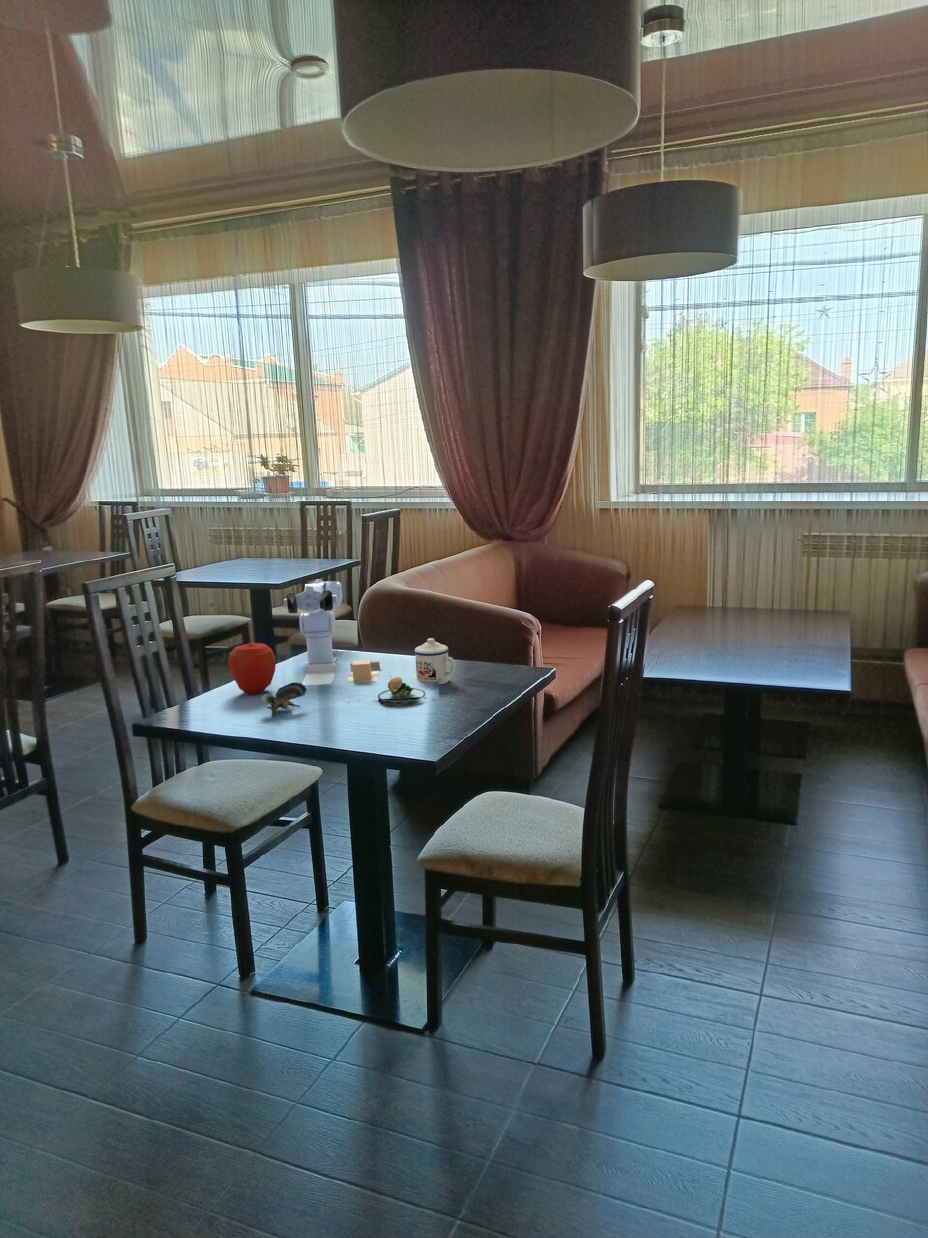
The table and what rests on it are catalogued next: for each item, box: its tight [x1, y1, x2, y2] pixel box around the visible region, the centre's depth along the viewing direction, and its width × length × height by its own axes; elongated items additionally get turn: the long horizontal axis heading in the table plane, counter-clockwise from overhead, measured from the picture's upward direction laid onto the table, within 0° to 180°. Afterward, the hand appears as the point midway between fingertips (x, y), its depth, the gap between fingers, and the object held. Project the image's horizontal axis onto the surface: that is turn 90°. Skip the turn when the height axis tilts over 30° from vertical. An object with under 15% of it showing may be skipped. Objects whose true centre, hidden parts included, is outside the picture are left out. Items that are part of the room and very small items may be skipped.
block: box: [352, 659, 372, 681], centre depth 232 cm, size 4×4×4 cm
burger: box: [377, 673, 426, 707], centre depth 215 cm, size 12×12×8 cm
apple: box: [227, 640, 277, 696], centre depth 227 cm, size 12×12×14 cm
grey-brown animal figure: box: [261, 682, 308, 717], centre depth 210 cm, size 8×8×10 cm
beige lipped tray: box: [346, 660, 381, 684], centre depth 236 cm, size 14×8×3 cm, turn 2°
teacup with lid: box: [413, 637, 457, 686], centre depth 229 cm, size 12×9×12 cm
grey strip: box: [301, 662, 338, 686], centre depth 236 cm, size 14×8×3 cm, turn 2°
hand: (306, 605), depth 231 cm, fingers open, 7 cm apart
